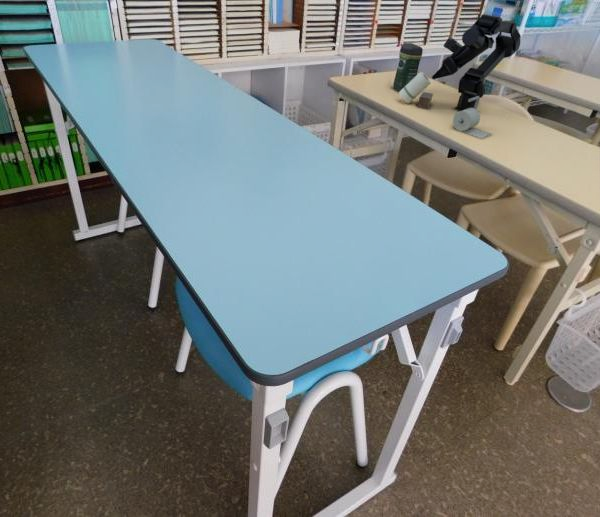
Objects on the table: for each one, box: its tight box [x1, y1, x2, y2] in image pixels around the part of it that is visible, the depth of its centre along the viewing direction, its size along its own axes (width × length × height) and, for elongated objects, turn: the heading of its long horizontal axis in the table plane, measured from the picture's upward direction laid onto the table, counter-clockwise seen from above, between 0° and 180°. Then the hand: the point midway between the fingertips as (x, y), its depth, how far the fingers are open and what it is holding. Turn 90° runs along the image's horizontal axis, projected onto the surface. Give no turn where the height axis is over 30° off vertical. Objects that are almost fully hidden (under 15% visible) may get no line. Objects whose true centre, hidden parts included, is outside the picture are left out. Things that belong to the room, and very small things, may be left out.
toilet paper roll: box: [452, 96, 490, 139], centre depth 156 cm, size 10×11×12 cm
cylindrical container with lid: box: [398, 71, 432, 104], centre depth 176 cm, size 12×6×12 cm, turn 86°
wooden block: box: [417, 91, 434, 110], centre depth 178 cm, size 4×8×4 cm, turn 157°
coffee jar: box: [392, 42, 424, 92], centre depth 189 cm, size 10×8×19 cm
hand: (434, 76), depth 172 cm, fingers open, 9 cm apart
